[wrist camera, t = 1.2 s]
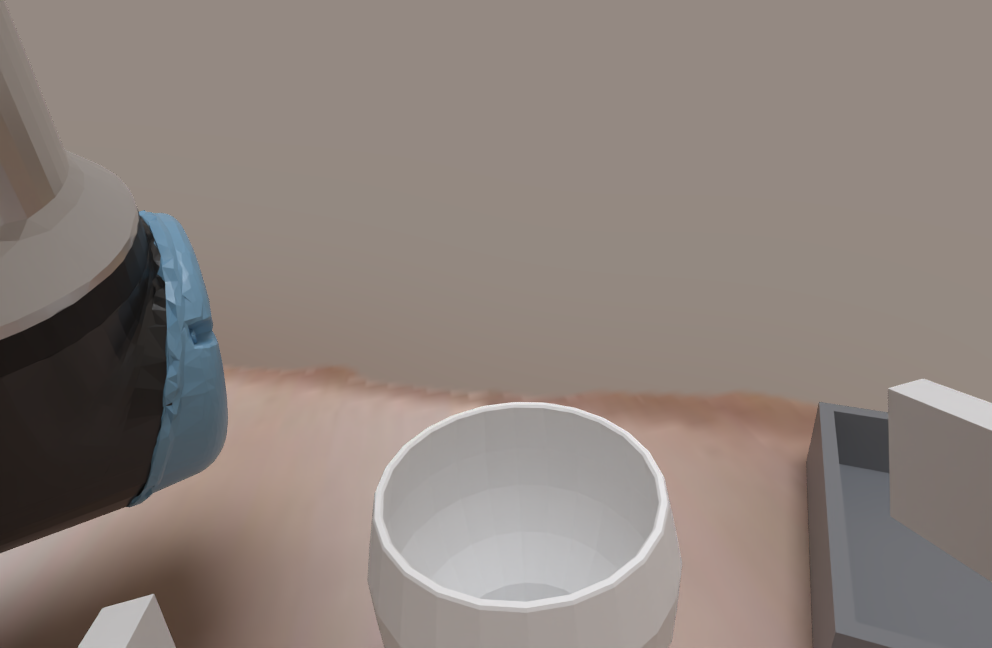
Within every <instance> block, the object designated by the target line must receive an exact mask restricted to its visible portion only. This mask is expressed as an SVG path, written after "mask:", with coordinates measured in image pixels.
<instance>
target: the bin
mask: <svg viewBox="0 0 992 648" xmlns="http://www.w3.org/2000/svg"><path fill="white" fill-rule="evenodd" d="M806 468H807V497H808V525H809V553H810V581H811V610H812V638H813V648H992V582H991V581H989V580H988V579H986V578H985V577H983V576H982V575H980V574H979V573H977V572H975V571H974V570H972V569H971V568H969V567H968V566H966V565H965V564H963V563H962V562H960V561H959V560H957V559H955V558H954V557H952V556H951V555H949V554H948V553H946V552H945V551H943V550H942V549H940V548H939V547H937V546H935V545H934V544H932V543H931V542H929V541H928V540H926V539H925V538H923V537H922V536H920V535H919V534H917V533H915V532H914V531H912V530H911V529H909V528H908V527H906V526H905V525H903V524H902V523H900V522H899V521H897V520H895V519H894V518H892V517H891V516H890V477H889V428H888V412H882V411H875V410H869V409H862V408H856V407H849V406H843V405H836V404H830V403H823V402H819V405H818V409H817V414H816V419H815V424H814V428H813V433H812V438H811V443H810V447H809V452H808V457H807V462H806Z"/></svg>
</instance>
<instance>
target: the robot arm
mask: <svg viewBox="0 0 992 648" xmlns="http://www.w3.org/2000/svg"><path fill="white" fill-rule="evenodd" d="M212 328H213V322H212V318H211V311H210V304H209V298H208V295H207V291H206V287H205V284H204V281H203V277H202V274H201V270H200V267H199V264H198V261H197V258H196V255H195V253H194V250H193V248H192V245H191V243H190V241H189V239H188V237H187V235H186V233H185V231H184V229H183V227H182V226H181V224H180V223H179V222H178V221H177V220H176V219H175V218H174V217H172V216H170V215H168V214H164V213H152V212H145V210H144V211H140V212H138V209H137V206H136V203H135V200H134V198H133V196H132V194H131V192H130V189H129V188H128V187H127V186H126V185H125V184H124V183H123V181H122V180H121V179H120V178H119V177H118V176H117V175H115V174H114V173H113V172H112V171H110V170H108V169H107V168H105V167H103V166H101V165H100V164H98V163H96V162H93V161H91V160H89V159H86V158H84V157H81V156H79V155H77V154H75V153H72V152H70V151H68V150H65V149H64V148H63V145H62V143H61V140H60V138H59V135H58V133H57V130H56V127H55V125H54V122H53V120H52V117H51V115H50V112H49V110H48V107H47V105H46V102H45V100H44V98H43V95H42V92H41V90H40V87H39V85H38V82H37V80H36V77H35V75H34V72H33V70H32V67H31V64H30V62H29V59H28V57H27V55H26V52H25V49H24V47H23V44H22V42H21V40H20V37H19V34H18V32H17V29H16V27H15V24H14V22H13V19H12V17H11V14H10V12H9V9H8V7H7V4H6V2H5V0H0V553H2V552H5V551H7V550H10V549H13V548H16V547H18V546H21V545H24V544H26V543H29V542H32V541H35V540H37V539H40V538H43V537H45V536H48V535H51V534H53V533H56V532H59V531H62V530H64V529H67V528H70V527H72V526H75V525H78V524H81V523H83V522H86V521H89V520H91V519H94V518H97V517H100V516H102V515H105V514H108V513H110V512H113V511H116V510H118V509H121V508H124V507H132V506H135V505H138V504H140V503H142V502H143V501H145V500H146V499H147V498H148V497H149V496H150V495H152V493H154V492H157V491H159V490H161V489H163V488H166V487H168V486H170V485H173V484H175V483H177V482H179V481H182V480H184V479H186V478H189V477H191V476H193V475H195V474H198V473H200V472H201V471H203V470H205V469H206V468H207V467H209V466H210V465H211V464H212V463H213V462H214V461H215V459H216V458H217V456H218V455H219V454H220V452H221V450H222V448H223V446H224V443H225V439H226V435H227V425H228V408H227V395H226V386H225V378H224V371H223V364H222V360H221V355H220V350H219V344H218V341H217V339H216V337H215V335H214V333H213V331H212ZM888 428H889V477H890V516H891V517H892V518H894V519H895V520H897V521H899V522H900V523H902V524H903V525H905V526H906V527H908V528H909V529H911V530H912V531H914V532H915V533H917V534H919V535H920V536H922V537H923V538H925V539H926V540H928V541H929V542H931V543H932V544H934V545H935V546H937V547H939V548H940V549H942V550H943V551H945V552H946V553H948V554H949V555H951V556H952V557H954V558H955V559H957V560H959V561H960V562H962V563H963V564H965V565H966V566H968V567H969V568H971V569H972V570H974V571H975V572H977V573H979V574H980V575H982V576H983V577H985V578H986V579H988V580H989V581H991V582H992V403H990V402H987V401H984V400H982V399H979V398H976V397H973V396H970V395H968V394H965V393H962V392H959V391H957V390H954V389H951V388H948V387H946V386H943V385H940V384H937V383H935V382H932V381H929V380H926V379H920V380H916V381H912V382H909V383H905V384H901V385H898V386H894V387H891V388H888ZM78 648H176V647H175V644H174V642H173V639H172V637H171V634H170V632H169V629H168V627H167V624H166V622H165V619H164V617H163V614H162V612H161V609H160V607H159V604H158V602H157V599H156V597H155V594H151V595H147V596H144V597H140V598H137V599H133V600H129V601H126V602H122V603H119V604H115V605H112V606H108V607H104V608H102V610H101V611H100V613H99V614H98V616H97V618H96V619H95V621H94V622H93V624H92V625H91V627H90V629H89V630H88V632H87V633H86V635H85V637H84V638H83V640H82V641H81V643H80V645H79V646H78Z"/></svg>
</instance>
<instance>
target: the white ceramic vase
mask: <svg viewBox="0 0 992 648" xmlns="http://www.w3.org/2000/svg"><path fill="white" fill-rule="evenodd" d="M681 570H682V560H681V555H680V549H679V544H678V539H677V533H676V528H675V524H674V519H673V515H672V510H671V506H670V501H669V496H668V492H667V487H666V483H665V478H664V476H663V474H662V473H661V471H660V469H659V468H658V466H657V464H656V462H655V461H654V459H653V457H652V455H651V454H650V452H649V451H648V450H647V449H646V448H645V447H644V446H642V445H641V444H640V443H639V442H638V441H637V440H636V439H635V438H634V437H633V436H632V435H631V434H630V433H629V432H627V431H625V430H624V429H622V428H620V427H618V426H617V425H615V424H613V423H612V422H610V421H608V420H606V419H605V418H603V417H600V416H597V415H594V414H591V413H588V412H586V411H583V410H580V409H577V408H573V407H567V406H561V405H556V404H550V403H537V402H511V403H503V404H496V405H488V406H482V407H479V408H475V409H472V410H468V411H465V412H462V413H458V414H455V415H452V416H450V417H448V418H446V419H444V420H442V421H440V422H438V423H436V424H434V425H432V426H430V427H428V428H426V429H425V430H423V431H422V432H421V433H419V434H418V435H417V436H416V437H414V438H413V439H412V440H410V441H409V442H408V443H406V444H405V445H404V446H403V447H402V448H401V449H400V451H399V452H398V453H397V454H396V455H395V457H394V458H393V459H392V460H391V462H390V463H389V464H388V465H387V466H386V468H385V470H384V473H383V475H382V477H381V480H380V482H379V484H378V487H377V489H376V492H375V494H374V504H373V515H372V526H371V536H370V547H369V564H368V585H369V589H370V593H371V597H372V602H373V606H374V610H375V614H376V619H377V623H378V626H379V630H380V633H381V637H382V640H383V644H384V647H385V648H668V647H669V646H670V644H671V642H672V637H673V631H674V625H675V618H676V612H677V605H678V597H679V588H680V579H681Z"/></svg>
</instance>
